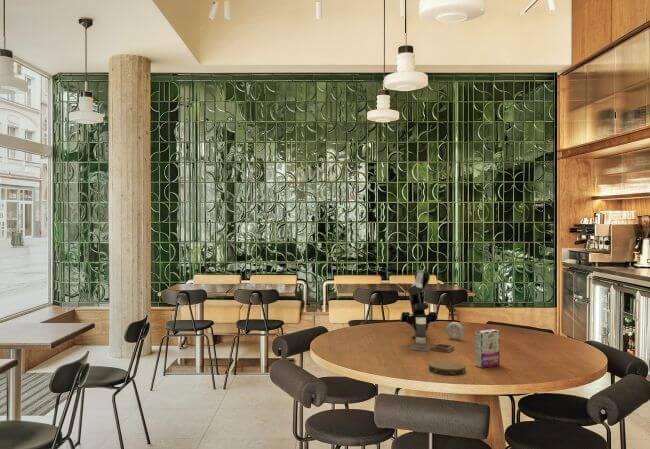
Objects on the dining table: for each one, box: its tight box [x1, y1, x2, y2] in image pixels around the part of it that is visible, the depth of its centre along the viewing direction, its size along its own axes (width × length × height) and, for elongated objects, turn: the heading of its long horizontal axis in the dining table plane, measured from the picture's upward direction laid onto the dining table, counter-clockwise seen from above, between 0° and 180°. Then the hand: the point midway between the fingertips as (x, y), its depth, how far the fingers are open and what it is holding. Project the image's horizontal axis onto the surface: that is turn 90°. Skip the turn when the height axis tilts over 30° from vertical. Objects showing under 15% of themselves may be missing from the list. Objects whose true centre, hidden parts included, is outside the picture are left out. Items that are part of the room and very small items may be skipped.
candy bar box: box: [474, 328, 501, 369], centre depth 265 cm, size 11×5×16 cm, turn 117°
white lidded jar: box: [414, 317, 427, 344], centre depth 300 cm, size 6×6×13 cm
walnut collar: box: [431, 343, 455, 354], centre depth 298 cm, size 9×9×2 cm
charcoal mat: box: [407, 344, 432, 353], centre depth 300 cm, size 10×10×1 cm
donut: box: [445, 321, 465, 340], centre depth 325 cm, size 10×3×10 cm, turn 64°
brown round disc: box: [428, 359, 466, 376], centre depth 256 cm, size 16×16×3 cm
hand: (421, 330), depth 298 cm, fingers closed on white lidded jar, 6 cm apart
